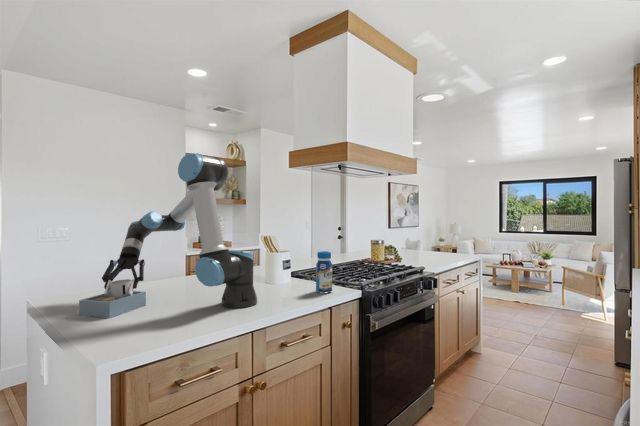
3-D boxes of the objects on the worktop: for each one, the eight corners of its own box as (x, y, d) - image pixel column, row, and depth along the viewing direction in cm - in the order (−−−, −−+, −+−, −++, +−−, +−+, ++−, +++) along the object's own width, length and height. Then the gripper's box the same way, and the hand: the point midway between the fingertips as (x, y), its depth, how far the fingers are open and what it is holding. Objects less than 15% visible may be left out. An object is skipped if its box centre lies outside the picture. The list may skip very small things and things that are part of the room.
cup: (123, 309, 144) (121, 284, 144) (105, 308, 146) (104, 284, 146) (137, 303, 152) (136, 279, 152) (121, 302, 154) (119, 279, 153)
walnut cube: (114, 310, 143) (114, 297, 143) (104, 313, 138) (104, 300, 138) (104, 309, 144) (104, 296, 144) (93, 312, 139) (93, 299, 139)
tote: (145, 305, 153) (145, 291, 153) (109, 318, 135) (109, 302, 135) (118, 303, 157) (118, 289, 157) (79, 315, 138) (79, 300, 138)
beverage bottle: (321, 289, 187) (322, 250, 187) (335, 291, 182) (335, 251, 182) (312, 292, 180) (312, 252, 180) (326, 294, 175) (326, 253, 175)
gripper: (157, 255, 166) (147, 299, 151) (107, 256, 162) (92, 301, 147) (154, 245, 161) (144, 289, 145) (103, 245, 157) (86, 290, 141)
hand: (118, 295), depth 146 cm, fingers closed on cup, 8 cm apart
